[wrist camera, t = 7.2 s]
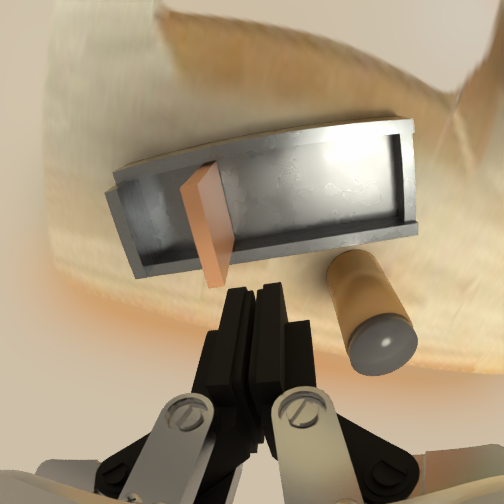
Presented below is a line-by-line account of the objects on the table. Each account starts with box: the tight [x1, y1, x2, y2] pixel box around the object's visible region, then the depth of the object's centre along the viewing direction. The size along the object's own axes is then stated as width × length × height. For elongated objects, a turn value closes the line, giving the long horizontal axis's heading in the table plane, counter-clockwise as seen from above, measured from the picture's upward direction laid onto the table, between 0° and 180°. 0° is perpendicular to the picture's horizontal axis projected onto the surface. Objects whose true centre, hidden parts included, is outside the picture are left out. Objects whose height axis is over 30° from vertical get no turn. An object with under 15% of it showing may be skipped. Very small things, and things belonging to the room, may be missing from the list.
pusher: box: [180, 161, 235, 288], centre depth 21 cm, size 1×6×7 cm, turn 12°
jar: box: [327, 250, 418, 376], centre depth 24 cm, size 5×5×10 cm
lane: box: [105, 116, 418, 279], centre depth 23 cm, size 22×9×5 cm, turn 101°
